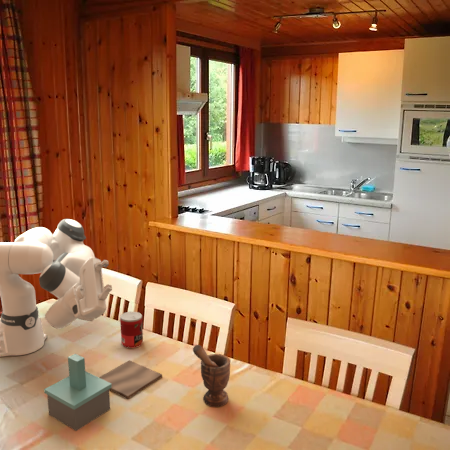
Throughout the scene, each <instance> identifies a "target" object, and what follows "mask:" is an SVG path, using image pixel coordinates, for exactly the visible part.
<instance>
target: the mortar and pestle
mask: <svg viewBox="0 0 450 450" xmlns="http://www.w3.org/2000/svg"><path fill="white" fill-rule="evenodd" d="M192 351H193V353H194V355H195V356H196V357H197V358H198V359H199V360H200V374H201V375H200V376H201V379H202V381H203V386H204V387H205V389H207V391H206V392H205V394H203V397H202V398H203V402H204V403H205V404H206V406H207V405H208V406H209V407H216V408H217V407H222V406H224V405H226V404H227V403H228V402H229V396H228V393H227V392H226V390H224V389H225V388H227V386H228V383H229V381H230V378H231V359H230V358H229V357H228V356H227V355H225V354H222V353H221V354H220V353H212V354H208V353H207V351H206V350H205V348H204V347H203V346H202V345H200V344H195V345H194V346H193V348H192Z"/></svg>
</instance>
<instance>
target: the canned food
mask: <svg viewBox="0 0 450 450" xmlns="http://www.w3.org/2000/svg"><path fill="white" fill-rule="evenodd" d="M119 319H120V320H119V323H120V325H119V326H120V340H121V345H122V346H123V347H125V348H127V347H128V348H129V349H133V348H138V347H140V346H142V345H143V342H144V341H143V340H144V338H143V337H144V336H143V332H144V331H143V315H142V314H141V313H140V312H139V311H127V312H123V313H122V314H121V315H119Z"/></svg>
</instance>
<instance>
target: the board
mask: <svg viewBox="0 0 450 450" xmlns="http://www.w3.org/2000/svg"><path fill="white" fill-rule="evenodd" d="M99 378H101V379H103V380H105V381H107V382H109V383H111V385H112V387H111V388H110V389H109V391H111V392H113V393H114V394H117V395H119V396H120V397H122V398H124V399H127V400H129V399H130V398H133V396H135V395H137V394H139V393H140V392H141V391H143V390H144V389H146V388H148V387H149V386H151V385H153V384H154V383H155V382H156V381H158V380H159V379H162V378H163V374H162V373H160V372H157V371H155V370H153V369H150V368H148V367H147V366H144V365H141V364H139V363H137V362H134V361H132V360H127V361H125V362H124V363H122V364H120V365H118V366H117V367H115V368H113V369H111V370H109V371H107V372H105V373H104V374H102V375H100V376H99Z"/></svg>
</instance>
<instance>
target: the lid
mask: <svg viewBox="0 0 450 450" xmlns="http://www.w3.org/2000/svg"><path fill="white" fill-rule="evenodd" d="M67 365H68V367H67V368H68V375H67V377H64V378H63V379H61V380H59V381H58V382H55V383H53V384H52V385H49V386H48V387H46V388H44V389H43V391H44V394H45V395H49V396H51V397H52V398H54V399H56V400H58V401H60V402H61V403H63V404H65V405H67V406H68V407H70V408H72V409H74V410H75V409H76V408H78V407H80V406H81V405H83V404H85V403H86V402H88V401H90V400H91V399H93V398H95V397H96V396H98V395H100V394H101V393H103V392H105V391H106V390H108V389H110V388H111V387H112V385H111V383H109V382H107V381H105V380H103V379H101V378H99V377H100V376H99V377H98V376H96V375H94V374H92V373H91V372H88V371H86V363H85V357H83V356H82V355H79V354H77V353H74V354H72V355H69V356H67Z"/></svg>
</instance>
